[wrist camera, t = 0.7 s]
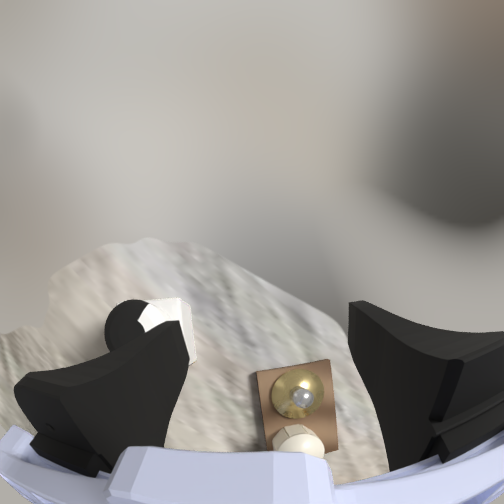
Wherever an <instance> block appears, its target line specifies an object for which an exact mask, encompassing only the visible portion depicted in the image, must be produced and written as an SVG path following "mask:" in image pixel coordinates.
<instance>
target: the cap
mask: <svg viewBox="0 0 504 504" xmlns="http://www.w3.org/2000/svg"><path fill="white" fill-rule="evenodd" d="M272 443H273V450H274V451H289V452H303V453H306V454H309V455H312V456H315V457H318V458H321V459H323V456H324V452H325V449H324V445H323V443H322V441H321V440H320V439H319V438H318V436H317V435H316V434H315V433H314V432H313V431H312V430H310V429H309V428H307V427H305V426H304V425H302V424H301V425H300V424H296V425H291V426H285V427H284V428H282V429H281V430H280V431H279V432H278V433H277V434H276V436H275V437H274V438H273V440H272Z"/></svg>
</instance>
